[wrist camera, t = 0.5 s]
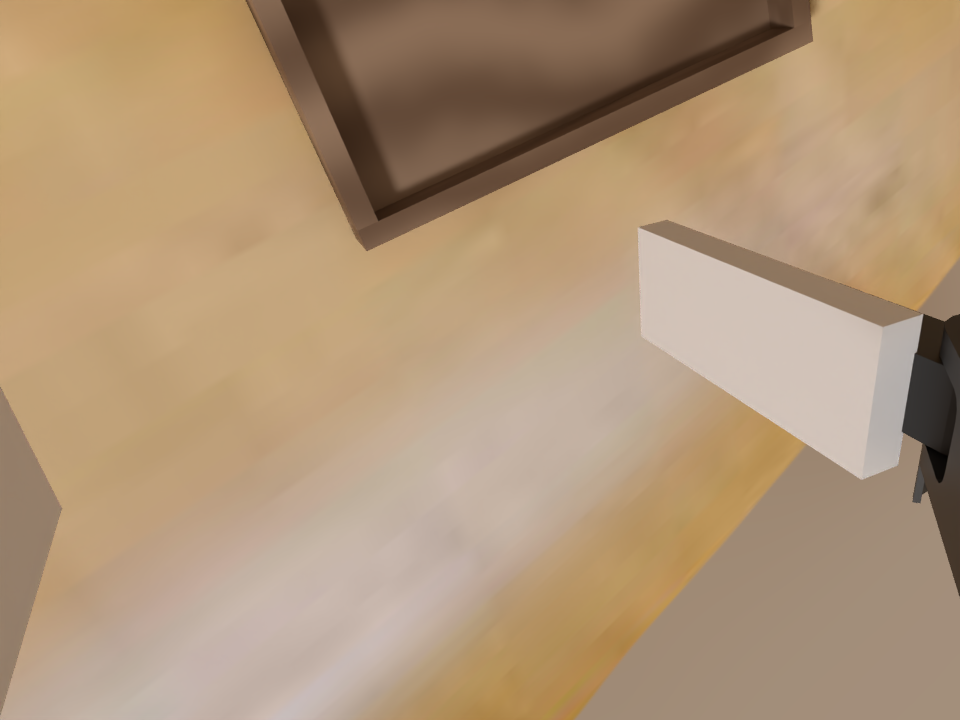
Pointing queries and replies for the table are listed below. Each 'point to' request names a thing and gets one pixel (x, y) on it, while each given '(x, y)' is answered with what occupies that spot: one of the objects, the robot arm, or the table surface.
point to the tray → (495, 85)
